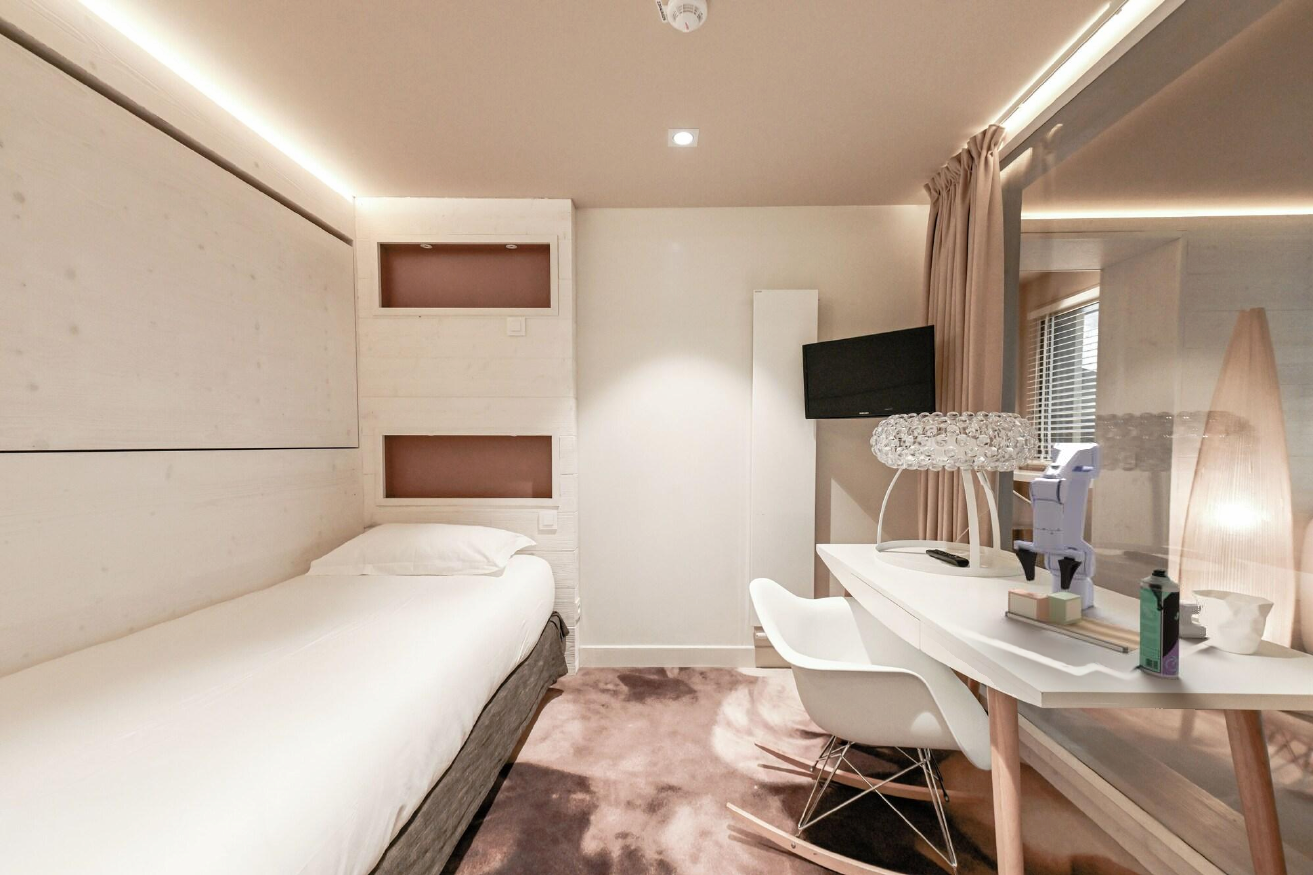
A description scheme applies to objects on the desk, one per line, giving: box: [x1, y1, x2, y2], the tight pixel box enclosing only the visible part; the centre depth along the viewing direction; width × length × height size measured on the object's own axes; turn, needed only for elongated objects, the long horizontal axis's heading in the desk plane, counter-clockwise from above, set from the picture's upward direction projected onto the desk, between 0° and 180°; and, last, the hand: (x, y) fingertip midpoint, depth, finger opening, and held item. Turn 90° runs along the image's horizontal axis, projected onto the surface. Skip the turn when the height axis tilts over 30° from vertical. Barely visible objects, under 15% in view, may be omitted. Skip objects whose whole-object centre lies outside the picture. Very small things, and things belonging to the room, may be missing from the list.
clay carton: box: [1007, 588, 1049, 622], centre depth 127 cm, size 4×7×6 cm, turn 25°
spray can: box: [1139, 568, 1181, 680], centre depth 101 cm, size 6×6×20 cm
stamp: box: [1179, 599, 1206, 639], centre depth 118 cm, size 9×7×8 cm
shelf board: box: [1047, 615, 1140, 654], centre depth 122 cm, size 17×24×1 cm
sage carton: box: [1045, 591, 1083, 625], centre depth 126 cm, size 4×7×6 cm, turn 115°
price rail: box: [1004, 610, 1129, 653], centre depth 118 cm, size 1×24×2 cm, turn 25°
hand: (1047, 584), depth 126 cm, fingers open, 7 cm apart
